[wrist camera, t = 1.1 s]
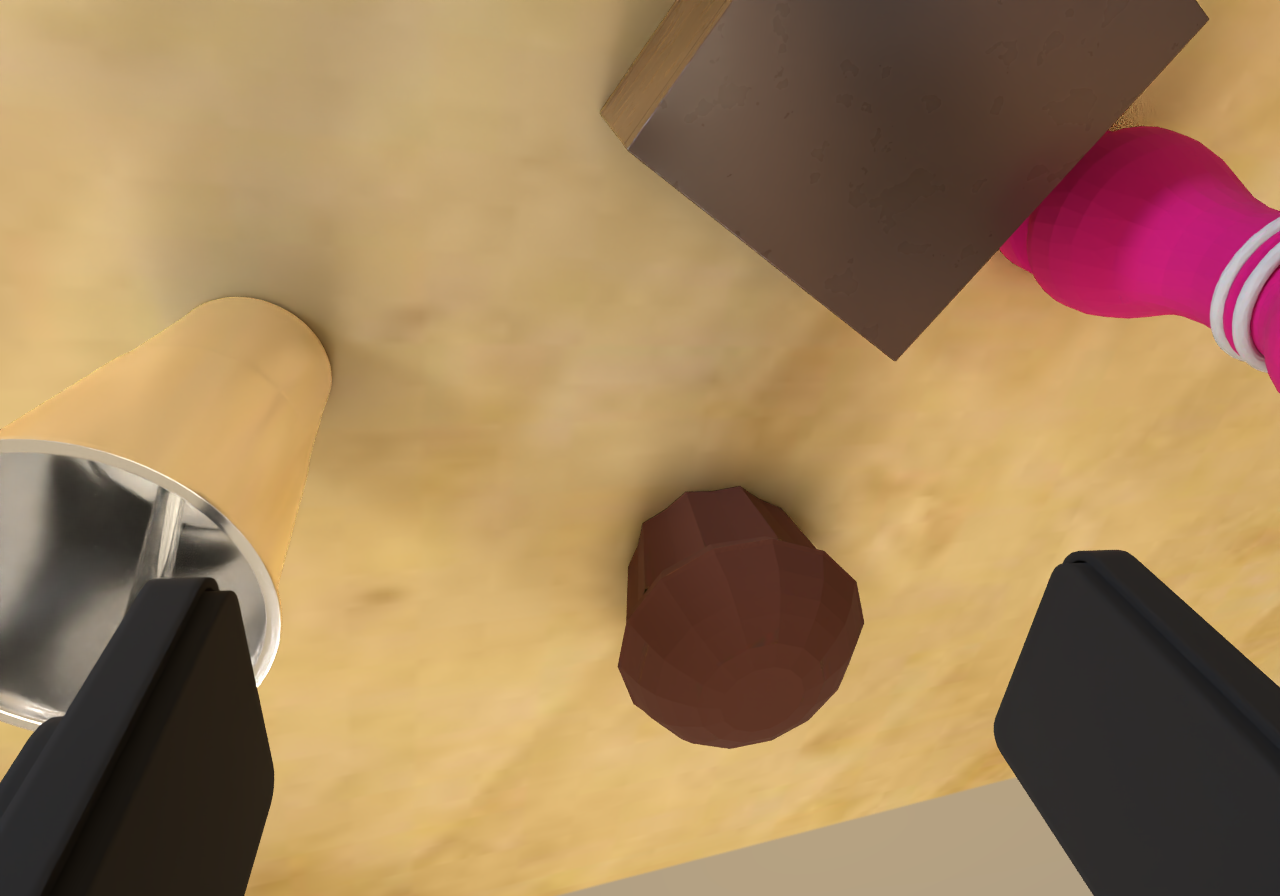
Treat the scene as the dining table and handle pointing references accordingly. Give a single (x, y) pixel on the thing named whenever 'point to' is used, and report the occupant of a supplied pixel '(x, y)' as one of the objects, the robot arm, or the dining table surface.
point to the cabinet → (885, 130)
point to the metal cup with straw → (154, 491)
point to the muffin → (734, 621)
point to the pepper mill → (1160, 242)
